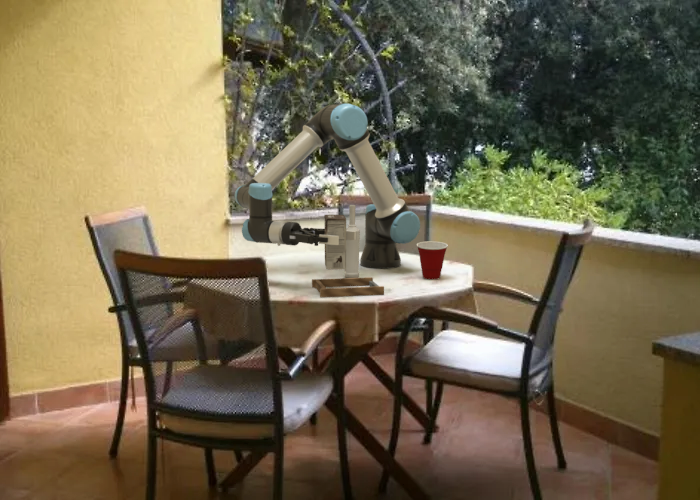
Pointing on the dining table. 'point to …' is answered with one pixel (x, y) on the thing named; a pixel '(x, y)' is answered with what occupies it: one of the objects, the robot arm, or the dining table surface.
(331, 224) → the coffee box
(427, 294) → the dining table surface
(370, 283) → the frame
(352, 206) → the bottle
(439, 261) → the plastic cup
